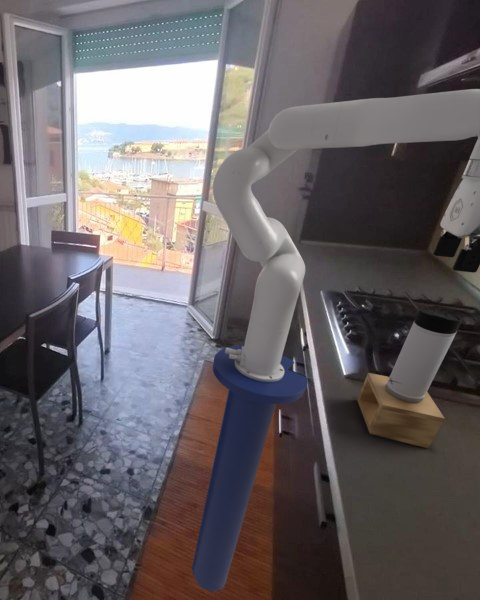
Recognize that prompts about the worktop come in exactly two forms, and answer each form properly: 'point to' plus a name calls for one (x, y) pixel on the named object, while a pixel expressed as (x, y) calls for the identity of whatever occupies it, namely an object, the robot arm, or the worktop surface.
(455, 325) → the travel mug
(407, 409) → the shelf
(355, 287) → the worktop surface
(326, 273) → the worktop surface
